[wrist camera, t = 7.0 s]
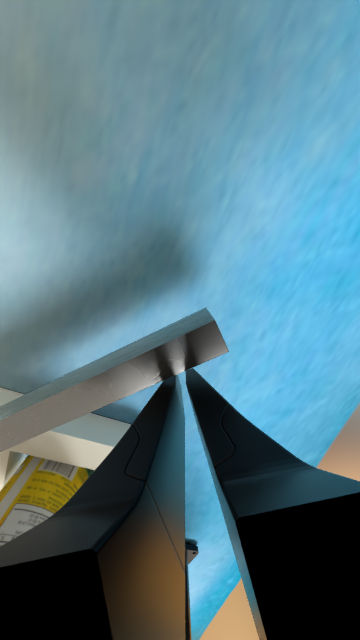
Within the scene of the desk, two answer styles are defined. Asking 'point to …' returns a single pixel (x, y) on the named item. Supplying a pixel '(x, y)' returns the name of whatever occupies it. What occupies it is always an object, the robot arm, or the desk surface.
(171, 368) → the latch arm
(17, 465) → the socket housing
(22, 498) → the supplement bottle
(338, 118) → the desk surface
